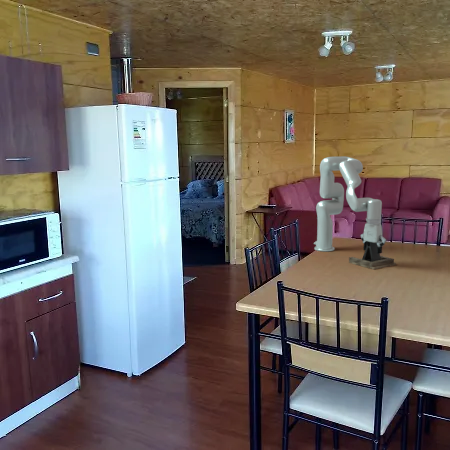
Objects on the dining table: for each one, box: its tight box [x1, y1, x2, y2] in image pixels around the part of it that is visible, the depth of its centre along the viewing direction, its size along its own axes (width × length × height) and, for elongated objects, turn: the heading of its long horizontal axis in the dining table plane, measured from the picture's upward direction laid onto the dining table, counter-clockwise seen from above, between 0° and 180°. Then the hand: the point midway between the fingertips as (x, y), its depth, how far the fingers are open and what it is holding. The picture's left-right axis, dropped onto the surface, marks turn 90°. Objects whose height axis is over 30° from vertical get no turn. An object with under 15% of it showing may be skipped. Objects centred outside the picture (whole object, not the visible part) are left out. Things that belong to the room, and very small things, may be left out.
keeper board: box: [348, 255, 397, 270], centre depth 266 cm, size 18×18×7 cm
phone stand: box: [361, 242, 381, 262], centre depth 266 cm, size 9×6×12 cm, turn 32°
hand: (372, 251), depth 265 cm, fingers open, 9 cm apart
